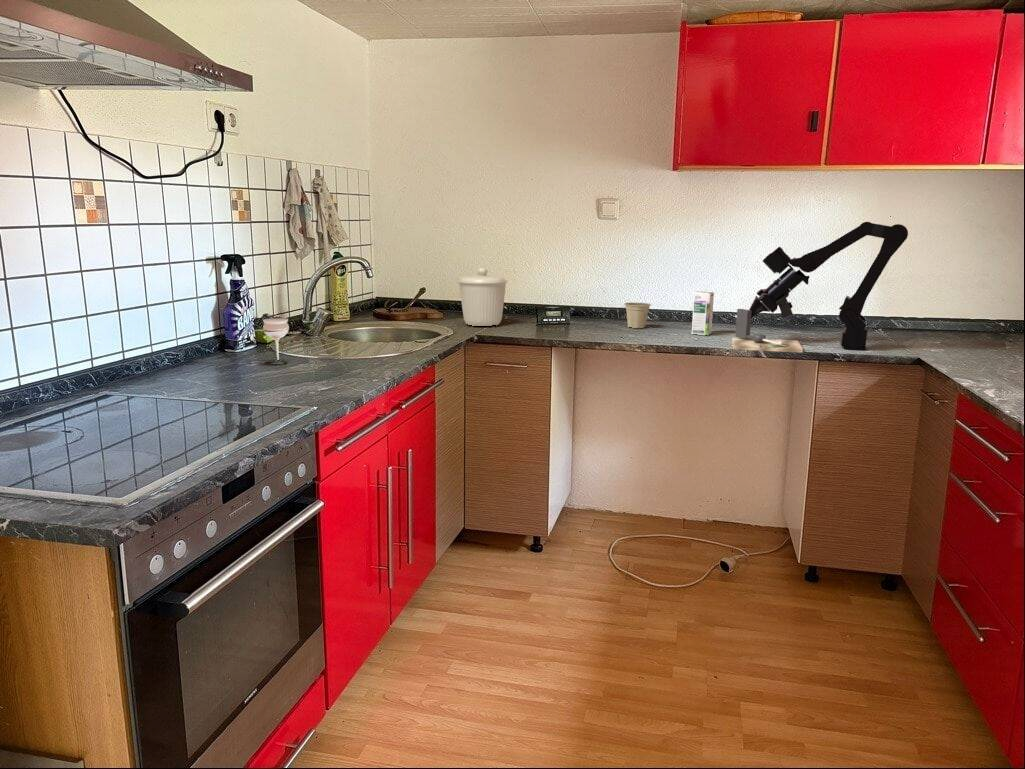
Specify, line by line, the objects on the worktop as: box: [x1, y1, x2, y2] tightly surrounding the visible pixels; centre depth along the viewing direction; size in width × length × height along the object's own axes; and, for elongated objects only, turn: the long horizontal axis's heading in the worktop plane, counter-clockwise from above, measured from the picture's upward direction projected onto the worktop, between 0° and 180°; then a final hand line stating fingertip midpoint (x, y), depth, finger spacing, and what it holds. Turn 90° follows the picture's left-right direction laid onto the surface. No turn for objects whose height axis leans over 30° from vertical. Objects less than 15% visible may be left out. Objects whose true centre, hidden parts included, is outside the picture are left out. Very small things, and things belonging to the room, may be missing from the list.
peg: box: [734, 308, 782, 345], centre depth 240 cm, size 4×20×9 cm, turn 23°
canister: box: [457, 267, 508, 327], centre depth 280 cm, size 18×18×21 cm
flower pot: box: [624, 302, 652, 329], centre depth 277 cm, size 9×9×9 cm
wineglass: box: [262, 317, 290, 361], centre depth 209 cm, size 7×7×12 cm
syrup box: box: [691, 291, 715, 336], centre depth 262 cm, size 6×6×14 cm
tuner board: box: [731, 337, 804, 353], centre depth 240 cm, size 20×17×1 cm
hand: (746, 318), depth 248 cm, fingers closed
